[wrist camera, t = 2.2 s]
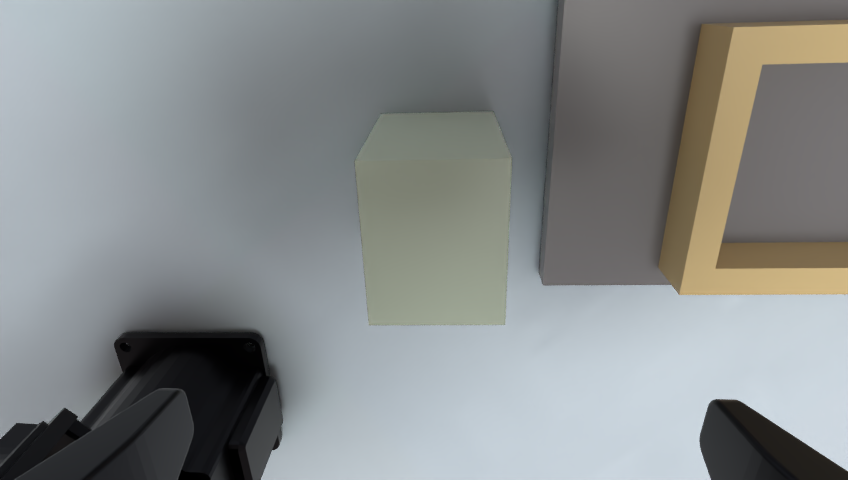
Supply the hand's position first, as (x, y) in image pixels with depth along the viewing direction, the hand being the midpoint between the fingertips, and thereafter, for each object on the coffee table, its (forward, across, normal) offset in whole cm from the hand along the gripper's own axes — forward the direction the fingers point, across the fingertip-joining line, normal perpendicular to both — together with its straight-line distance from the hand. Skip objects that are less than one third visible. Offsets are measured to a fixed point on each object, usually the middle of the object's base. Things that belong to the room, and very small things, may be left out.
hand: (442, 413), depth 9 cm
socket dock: (+12, -11, -2) cm, 17 cm away
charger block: (+12, 0, 0) cm, 12 cm away
